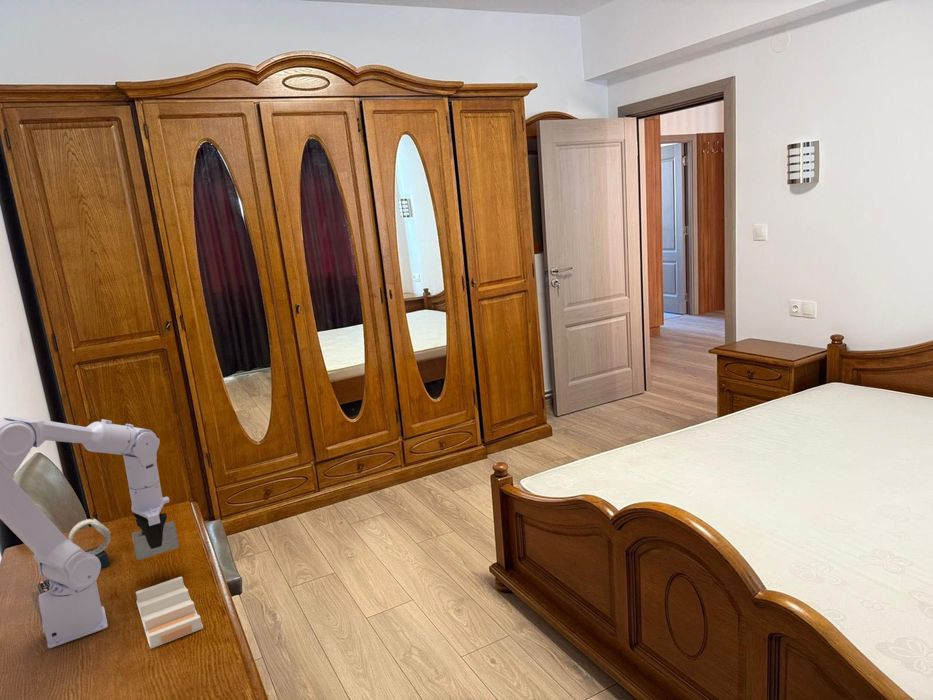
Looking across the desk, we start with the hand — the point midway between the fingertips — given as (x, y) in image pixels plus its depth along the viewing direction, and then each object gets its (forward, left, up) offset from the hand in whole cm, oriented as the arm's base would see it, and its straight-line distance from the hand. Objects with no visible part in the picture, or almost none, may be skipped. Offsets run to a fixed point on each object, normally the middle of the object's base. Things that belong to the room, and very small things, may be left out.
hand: (154, 543), depth 130 cm
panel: (0, 0, -2) cm, 2 cm away
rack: (-1, -15, -8) cm, 17 cm away
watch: (-11, +16, -9) cm, 21 cm away
